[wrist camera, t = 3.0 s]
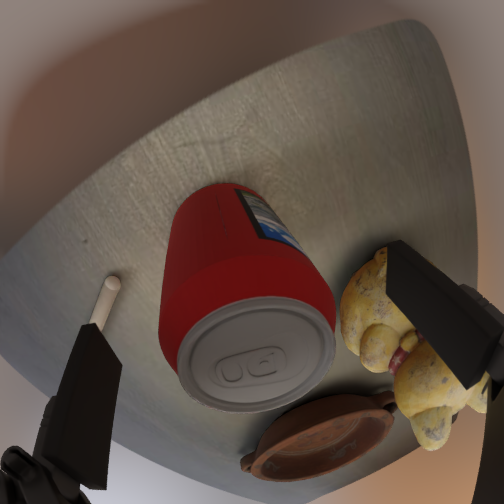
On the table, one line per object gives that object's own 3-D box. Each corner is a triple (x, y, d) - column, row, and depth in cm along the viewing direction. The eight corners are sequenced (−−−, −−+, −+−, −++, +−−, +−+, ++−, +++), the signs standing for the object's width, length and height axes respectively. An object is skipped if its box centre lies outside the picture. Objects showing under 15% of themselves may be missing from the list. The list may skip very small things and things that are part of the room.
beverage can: (278, 262, 22) (349, 395, 11) (186, 283, 21) (191, 434, 11) (265, 169, 19) (359, 256, 8) (159, 193, 18) (119, 313, 8)
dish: (201, 431, 30) (206, 467, 26) (382, 346, 29) (404, 378, 24) (265, 469, 38) (272, 495, 34) (396, 408, 37) (411, 432, 33)
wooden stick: (72, 375, 23) (69, 384, 22) (109, 270, 20) (105, 278, 19) (83, 379, 24) (81, 389, 23) (124, 277, 20) (121, 286, 19)
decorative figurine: (340, 337, 27) (417, 472, 13) (306, 275, 23) (409, 447, 10) (422, 282, 26) (524, 387, 13) (406, 212, 22) (552, 320, 9)
